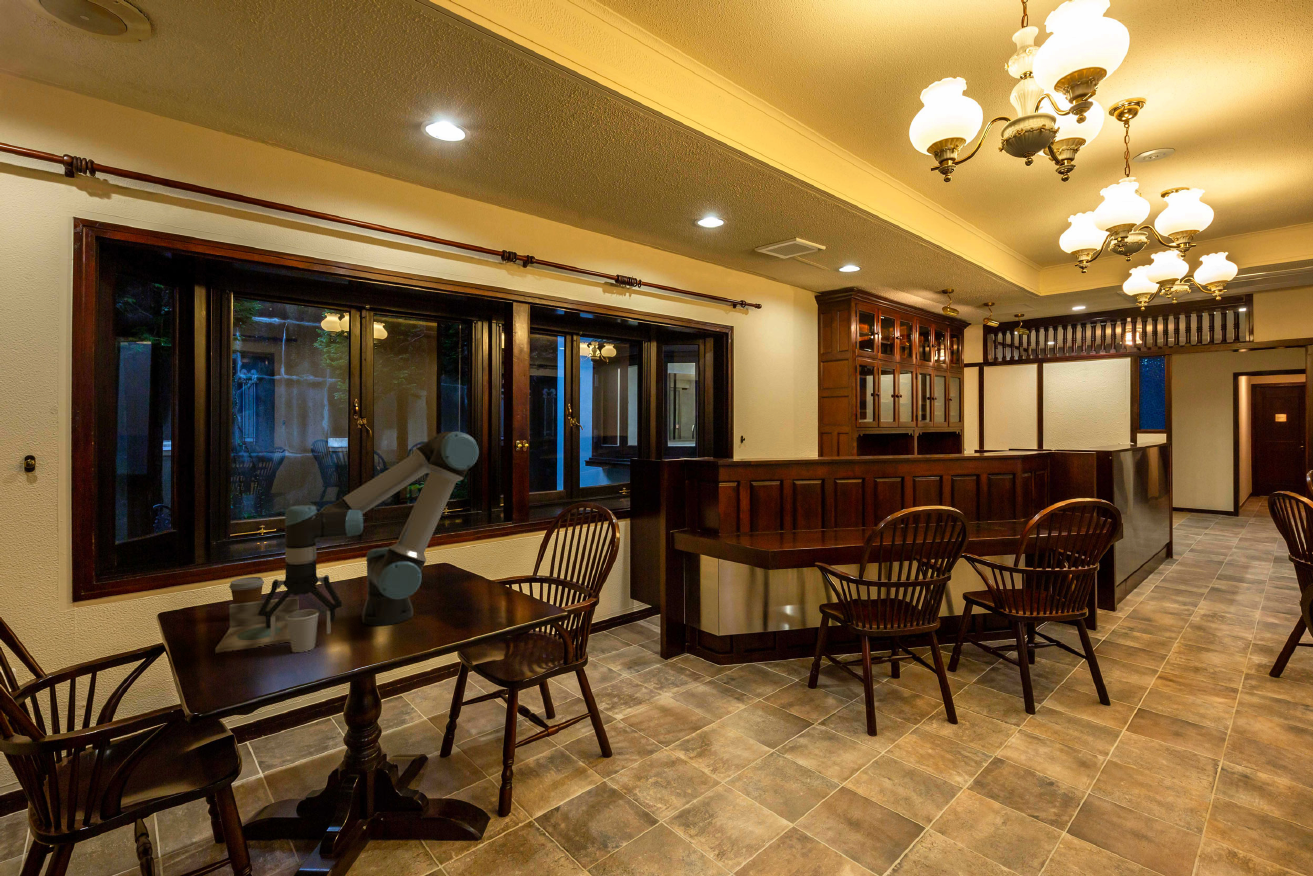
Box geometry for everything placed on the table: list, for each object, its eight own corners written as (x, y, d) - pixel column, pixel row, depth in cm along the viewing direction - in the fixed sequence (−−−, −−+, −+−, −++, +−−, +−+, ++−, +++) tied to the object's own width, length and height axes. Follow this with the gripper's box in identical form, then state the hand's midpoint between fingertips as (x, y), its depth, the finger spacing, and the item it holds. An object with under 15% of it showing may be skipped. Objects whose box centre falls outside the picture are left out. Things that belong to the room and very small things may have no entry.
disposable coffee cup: (272, 613, 202) (271, 577, 201) (245, 622, 193) (244, 585, 192) (249, 610, 204) (248, 575, 204) (222, 619, 195) (221, 583, 195)
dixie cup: (324, 648, 170) (323, 613, 170) (290, 657, 165) (289, 620, 164) (316, 640, 176) (315, 607, 176) (283, 648, 171) (282, 613, 170)
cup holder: (298, 621, 193) (298, 597, 193) (290, 642, 175) (289, 615, 175) (231, 630, 185) (230, 604, 185) (215, 652, 168) (214, 624, 167)
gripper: (351, 554, 178) (351, 625, 179) (250, 562, 168) (251, 637, 168) (350, 560, 171) (350, 634, 172) (245, 568, 161) (246, 646, 161)
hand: (301, 636), depth 170 cm, fingers open, 13 cm apart
